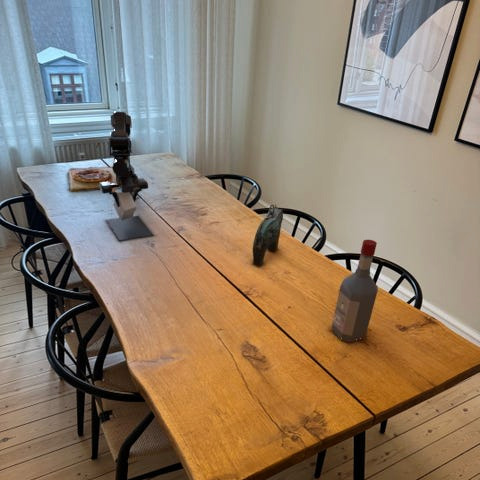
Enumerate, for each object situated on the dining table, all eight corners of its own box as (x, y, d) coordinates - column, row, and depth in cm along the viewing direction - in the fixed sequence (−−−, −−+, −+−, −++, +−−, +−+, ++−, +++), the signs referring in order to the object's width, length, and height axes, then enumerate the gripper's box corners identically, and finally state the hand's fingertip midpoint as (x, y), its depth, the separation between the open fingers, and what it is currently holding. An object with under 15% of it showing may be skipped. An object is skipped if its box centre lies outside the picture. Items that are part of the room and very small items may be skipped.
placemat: (106, 220, 195) (106, 219, 195) (138, 216, 201) (137, 215, 201) (119, 241, 180) (119, 240, 179) (153, 236, 185) (153, 235, 185)
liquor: (344, 345, 131) (366, 252, 114) (327, 327, 138) (345, 237, 121) (369, 338, 134) (394, 247, 117) (352, 322, 141) (373, 233, 124)
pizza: (64, 171, 247) (62, 164, 245) (116, 168, 256) (115, 161, 254) (69, 193, 221) (68, 185, 219) (127, 188, 230) (126, 181, 228)
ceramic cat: (269, 244, 184) (273, 197, 173) (283, 248, 182) (289, 200, 171) (248, 264, 169) (251, 213, 158) (264, 268, 167) (268, 217, 156)
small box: (132, 217, 195) (137, 207, 185) (120, 221, 192) (124, 210, 183) (124, 200, 195) (129, 189, 185) (112, 204, 192) (116, 193, 183)
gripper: (103, 176, 169) (108, 215, 178) (151, 172, 176) (153, 210, 185) (96, 167, 177) (101, 206, 186) (142, 163, 184) (145, 200, 193)
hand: (125, 205), depth 187 cm, fingers closed on small box, 6 cm apart
